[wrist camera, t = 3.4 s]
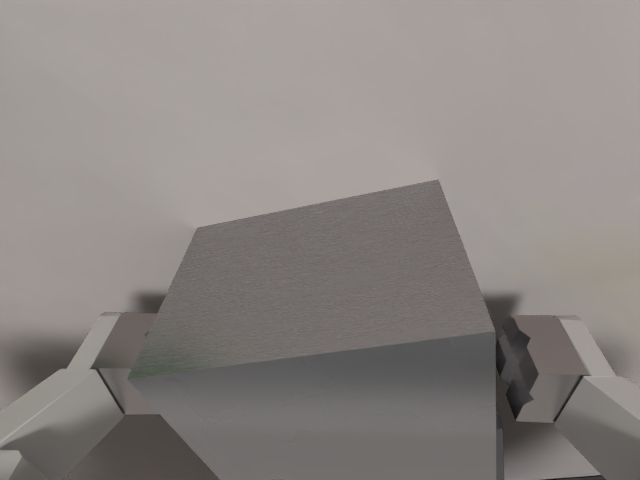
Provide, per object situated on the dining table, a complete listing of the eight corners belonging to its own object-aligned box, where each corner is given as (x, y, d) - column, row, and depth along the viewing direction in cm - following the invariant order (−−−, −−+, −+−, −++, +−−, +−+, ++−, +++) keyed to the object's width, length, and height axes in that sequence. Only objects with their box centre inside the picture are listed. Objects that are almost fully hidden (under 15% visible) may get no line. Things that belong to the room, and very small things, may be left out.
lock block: (263, 345, 13) (235, 497, 10) (199, 224, 11) (127, 379, 7) (451, 319, 12) (496, 480, 9) (437, 176, 9) (495, 331, 6)
